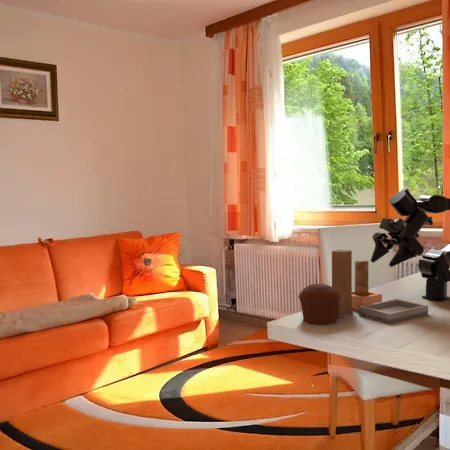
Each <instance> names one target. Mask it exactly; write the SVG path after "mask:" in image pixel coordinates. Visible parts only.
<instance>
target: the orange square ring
mask: <svg viewBox="0 0 450 450" xmlns="http://www.w3.org/2000/svg"><path fill="white" fill-rule="evenodd" d="M378 302H383V293H378V292H373V291H369V290H368V296H363V297H361V296H357V295H355V290H352V309H353V310H356V311H359V306H363V305H368V304H373V303H378Z"/></svg>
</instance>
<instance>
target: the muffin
mask: <svg viewBox="0 0 450 450" xmlns="http://www.w3.org/2000/svg"><path fill="white" fill-rule="evenodd" d="M340 299H341V297H340V295H339V293H338V292H337V291H336V290H335V289H334V288H332V285H331V286H330V284H329V285H328V284H325V283H313V284H309V285H307V286H305V287H304V288H303V289H302V290H301V291H300V293H299V294H298V300H299V301H300V306H301V313H302V319H303V322H304V323H306V324H309V325H315V326H316V325H317V326H325V325H332V324H333V323H336V322H337V318H338V317H337V311H338V304H339V300H340Z"/></svg>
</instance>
